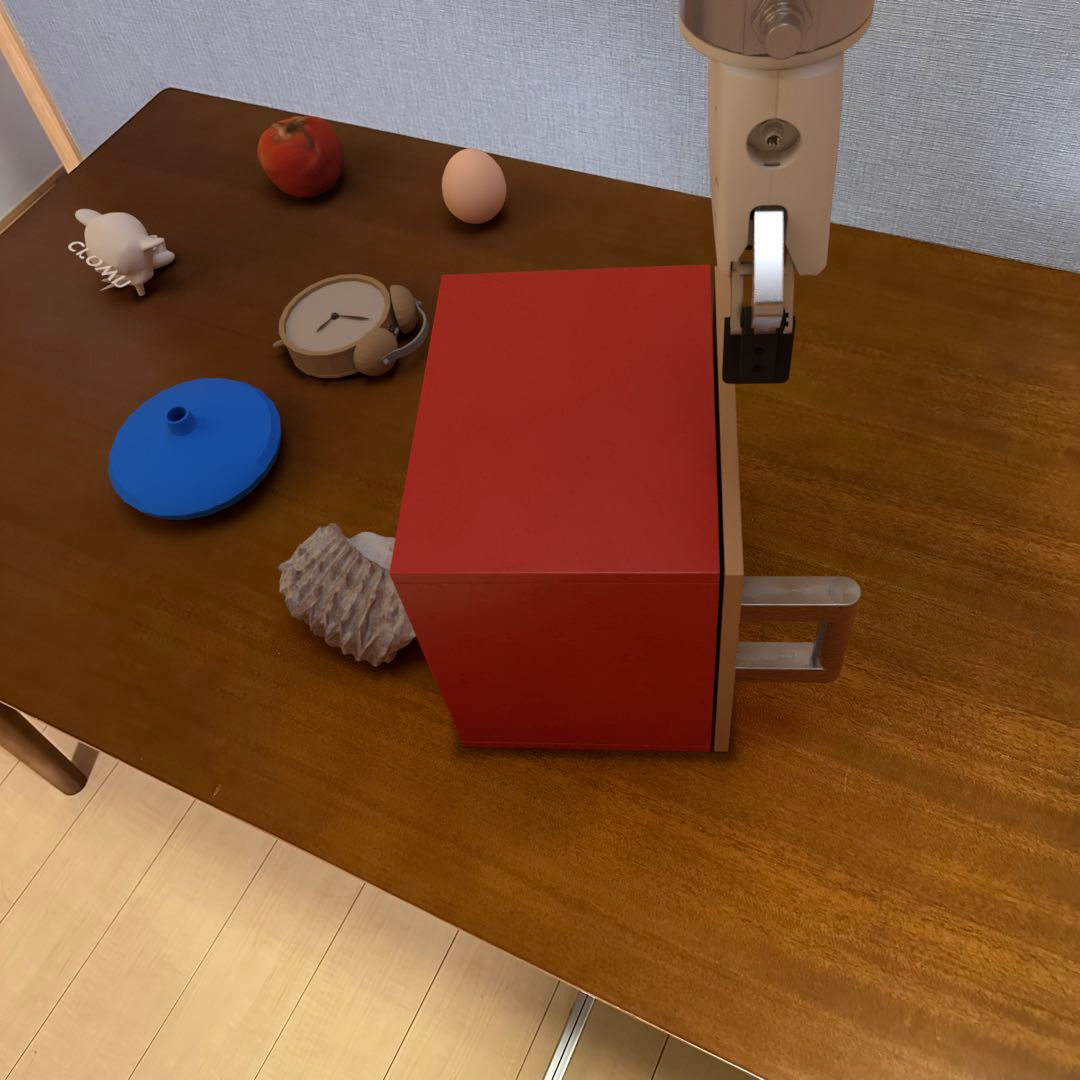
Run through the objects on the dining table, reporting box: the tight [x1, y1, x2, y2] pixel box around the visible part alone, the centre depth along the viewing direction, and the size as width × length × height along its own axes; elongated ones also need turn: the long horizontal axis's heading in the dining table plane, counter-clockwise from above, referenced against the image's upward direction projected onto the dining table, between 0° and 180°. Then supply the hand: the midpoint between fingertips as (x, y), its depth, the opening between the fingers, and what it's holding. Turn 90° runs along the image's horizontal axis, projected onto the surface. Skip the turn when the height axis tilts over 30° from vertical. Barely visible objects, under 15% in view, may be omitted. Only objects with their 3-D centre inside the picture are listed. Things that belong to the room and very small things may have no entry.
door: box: [712, 265, 862, 753], centre depth 71 cm, size 8×24×24 cm, turn 176°
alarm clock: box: [272, 273, 430, 379], centre depth 101 cm, size 11×5×15 cm
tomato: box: [257, 115, 345, 199], centre depth 115 cm, size 9×9×8 cm
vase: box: [107, 377, 282, 521], centre depth 93 cm, size 16×16×7 cm
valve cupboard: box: [389, 263, 720, 753], centre depth 73 cm, size 18×24×24 cm
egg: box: [441, 147, 507, 225], centre depth 108 cm, size 7×7×8 cm
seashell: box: [277, 522, 417, 667], centre depth 82 cm, size 14×9×10 cm
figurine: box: [67, 208, 176, 297], centre depth 109 cm, size 12×8×10 cm
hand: (752, 309), depth 54 cm, fingers open, 9 cm apart
